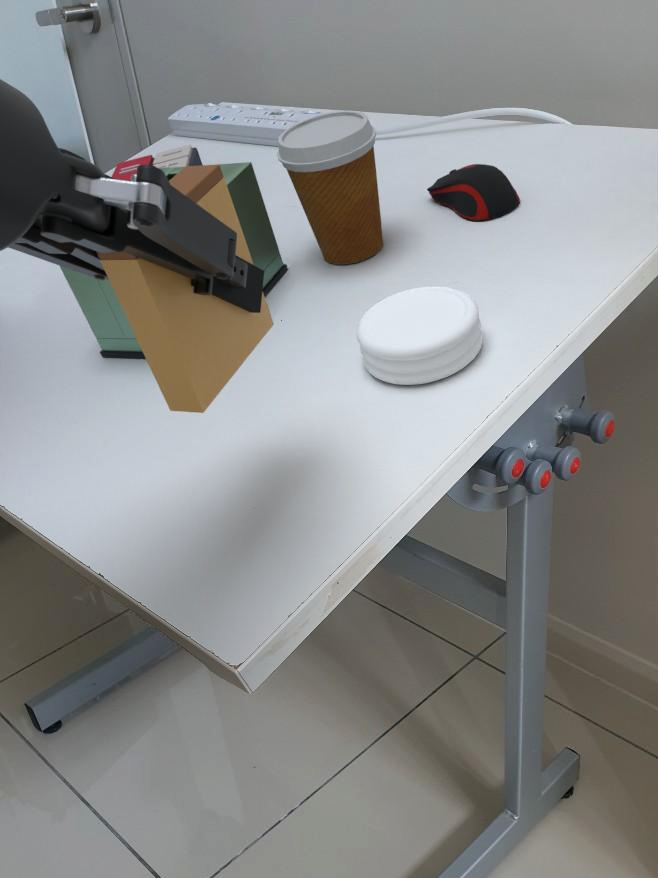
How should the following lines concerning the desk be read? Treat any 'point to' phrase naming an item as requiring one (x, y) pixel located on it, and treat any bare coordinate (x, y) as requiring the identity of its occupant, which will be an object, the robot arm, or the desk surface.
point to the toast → (188, 309)
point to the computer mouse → (476, 192)
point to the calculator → (159, 161)
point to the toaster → (259, 238)
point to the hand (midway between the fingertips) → (236, 291)
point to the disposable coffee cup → (336, 182)
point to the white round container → (420, 335)
